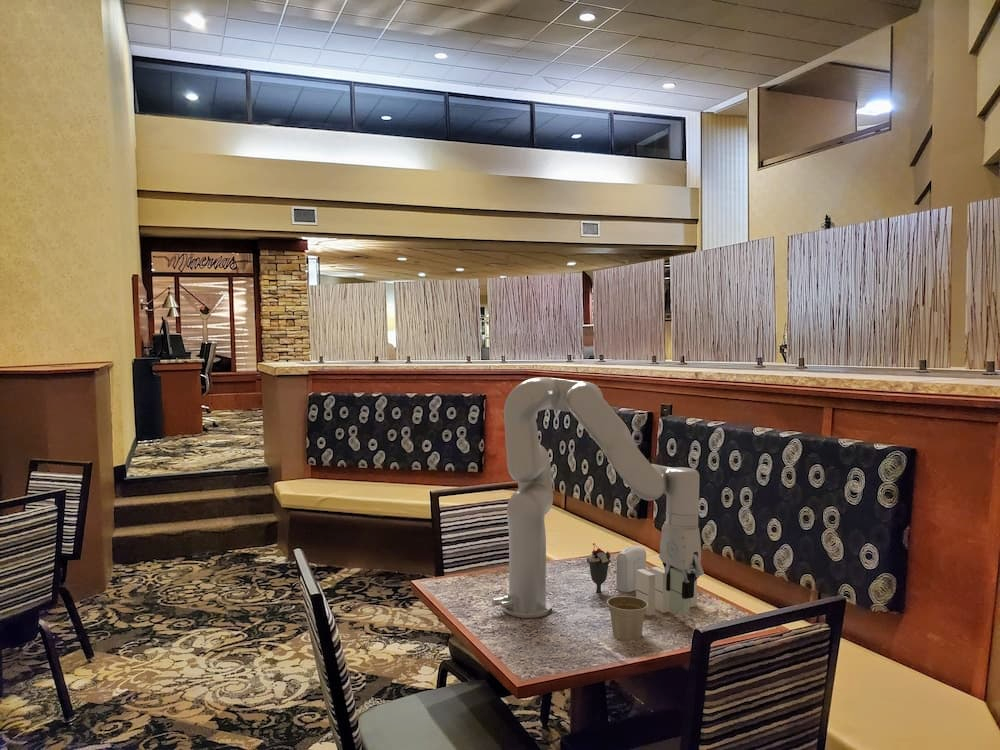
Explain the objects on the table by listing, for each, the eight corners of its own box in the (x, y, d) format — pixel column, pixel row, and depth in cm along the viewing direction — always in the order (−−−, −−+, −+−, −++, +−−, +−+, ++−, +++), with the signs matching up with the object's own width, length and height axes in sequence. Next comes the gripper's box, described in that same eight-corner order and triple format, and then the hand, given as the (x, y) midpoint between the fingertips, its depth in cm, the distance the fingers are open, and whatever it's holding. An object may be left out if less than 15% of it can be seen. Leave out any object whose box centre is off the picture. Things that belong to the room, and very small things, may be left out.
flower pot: (623, 628, 162) (623, 592, 162) (656, 640, 155) (656, 603, 155) (598, 639, 156) (598, 602, 156) (631, 652, 149) (631, 613, 149)
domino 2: (662, 612, 169) (663, 573, 169) (650, 606, 174) (650, 567, 173) (669, 611, 170) (669, 571, 170) (656, 605, 175) (656, 566, 174)
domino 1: (648, 615, 167) (648, 575, 167) (635, 609, 172) (636, 569, 171) (655, 614, 168) (655, 574, 168) (642, 607, 173) (642, 568, 172)
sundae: (584, 599, 182) (584, 544, 182) (589, 591, 188) (589, 538, 188) (608, 602, 180) (608, 546, 180) (613, 594, 186) (613, 540, 186)
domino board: (632, 627, 163) (632, 622, 163) (610, 615, 171) (610, 610, 171) (705, 612, 173) (705, 607, 173) (681, 601, 181) (681, 596, 181)
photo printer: (635, 585, 194) (635, 542, 194) (648, 588, 191) (648, 545, 191) (614, 593, 187) (614, 549, 187) (626, 597, 184) (627, 552, 184)
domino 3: (690, 607, 173) (691, 568, 173) (677, 600, 178) (677, 563, 177) (696, 605, 174) (697, 567, 174) (683, 599, 178) (683, 562, 178)
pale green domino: (682, 615, 161) (684, 574, 161) (668, 608, 165) (670, 568, 165) (689, 614, 162) (690, 573, 162) (675, 607, 166) (676, 567, 166)
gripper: (647, 513, 169) (645, 585, 170) (694, 529, 154) (692, 608, 154) (670, 510, 172) (668, 581, 173) (719, 526, 157) (717, 603, 158)
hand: (679, 593), depth 164 cm, fingers closed on pale green domino, 4 cm apart
